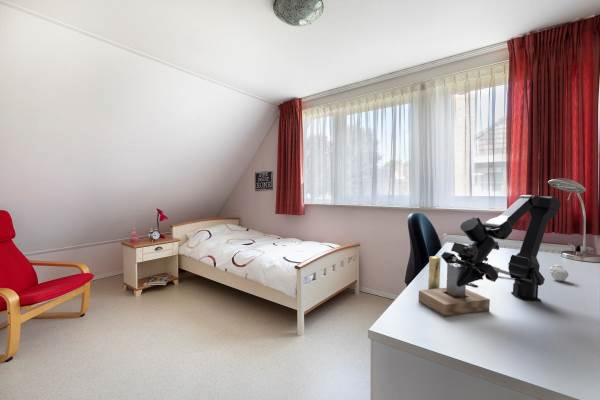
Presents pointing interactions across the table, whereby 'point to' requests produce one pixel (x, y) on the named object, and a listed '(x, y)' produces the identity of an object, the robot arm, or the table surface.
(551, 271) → the crumpled paper ball
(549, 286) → the table surface
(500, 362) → the table surface
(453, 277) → the grey rectangular block
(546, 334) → the table surface
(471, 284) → the usb flash drive
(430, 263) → the brass pin
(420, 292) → the bore block
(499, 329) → the table surface
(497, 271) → the caliper
